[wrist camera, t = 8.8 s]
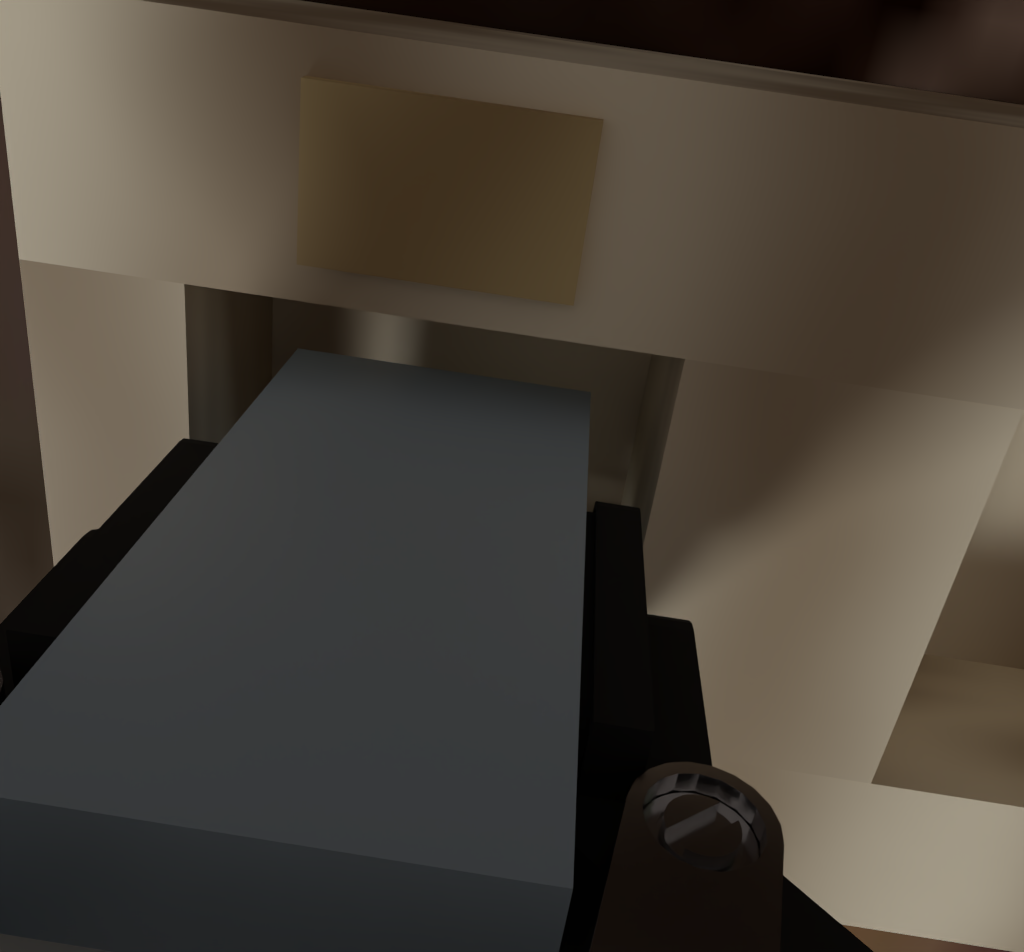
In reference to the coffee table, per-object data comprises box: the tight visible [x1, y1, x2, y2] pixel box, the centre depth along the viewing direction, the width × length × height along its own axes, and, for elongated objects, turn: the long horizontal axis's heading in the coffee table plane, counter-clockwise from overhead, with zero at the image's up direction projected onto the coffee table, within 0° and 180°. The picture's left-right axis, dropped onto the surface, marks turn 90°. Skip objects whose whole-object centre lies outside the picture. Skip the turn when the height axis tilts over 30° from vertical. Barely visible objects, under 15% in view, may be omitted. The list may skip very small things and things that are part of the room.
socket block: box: [0, 0, 1024, 952], centre depth 14 cm, size 20×12×4 cm, turn 83°
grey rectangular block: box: [0, 348, 591, 952], centre depth 10 cm, size 4×4×8 cm
